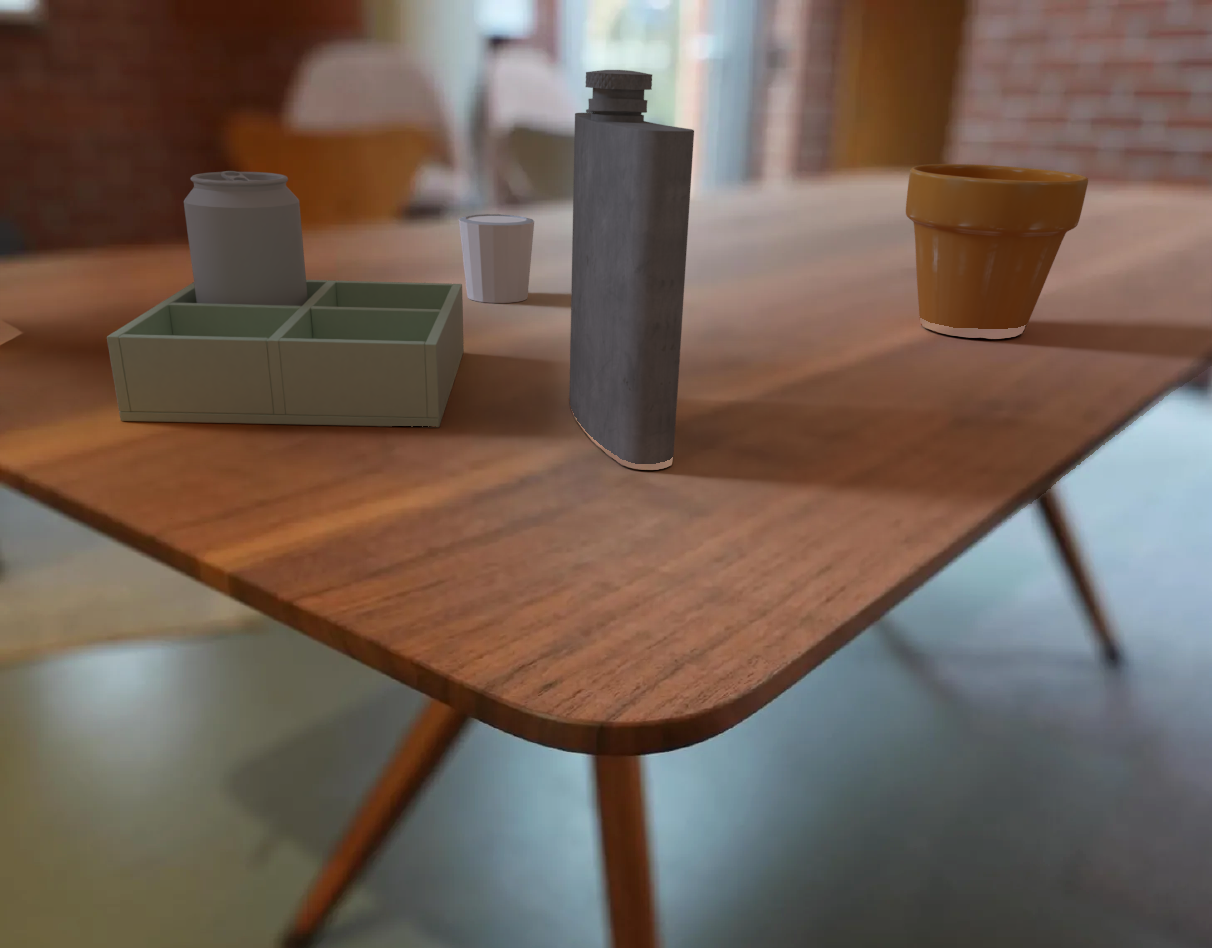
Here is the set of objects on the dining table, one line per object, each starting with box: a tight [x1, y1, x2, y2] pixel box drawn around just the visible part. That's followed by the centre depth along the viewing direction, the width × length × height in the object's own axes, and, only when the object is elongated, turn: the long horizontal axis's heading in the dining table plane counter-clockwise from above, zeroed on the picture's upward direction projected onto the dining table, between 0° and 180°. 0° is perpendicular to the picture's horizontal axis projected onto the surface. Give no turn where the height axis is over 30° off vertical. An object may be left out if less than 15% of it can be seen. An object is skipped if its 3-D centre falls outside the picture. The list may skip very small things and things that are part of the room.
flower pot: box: [905, 163, 1089, 329], centre depth 95 cm, size 14×14×13 cm
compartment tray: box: [106, 279, 465, 428], centre depth 75 cm, size 19×19×5 cm
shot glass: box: [458, 213, 535, 304], centre depth 103 cm, size 7×7×7 cm
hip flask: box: [568, 69, 695, 464], centre depth 64 cm, size 16×4×20 cm, turn 14°
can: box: [183, 170, 308, 306], centre depth 77 cm, size 8×8×12 cm
